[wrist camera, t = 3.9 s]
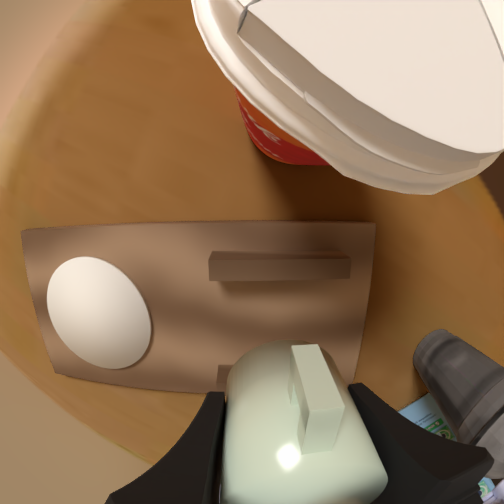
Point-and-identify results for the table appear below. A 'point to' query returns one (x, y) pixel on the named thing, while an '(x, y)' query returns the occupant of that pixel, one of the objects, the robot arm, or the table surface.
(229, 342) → the board
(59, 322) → the coaster
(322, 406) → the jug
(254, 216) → the table surface
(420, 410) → the gum box
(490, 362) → the beverage cup
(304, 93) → the coffee cup
